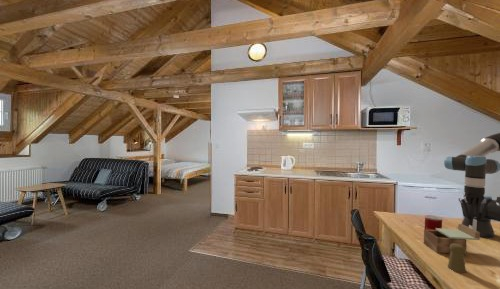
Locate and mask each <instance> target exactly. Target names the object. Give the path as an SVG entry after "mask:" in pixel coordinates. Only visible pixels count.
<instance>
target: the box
mask: <svg viewBox="0 0 500 289" xmlns="http://www.w3.org/2000/svg"><path fill="white" fill-rule="evenodd" d="M452 243H456V244H460V245H462V246H464V248H465V253H464V256H467V239H453V238H449V237H447V236H446V235H444V234H442V233H441V232H439V231H437V230H425V229H424V230H423V244H424V245H425V246H426V247H428V248H429V249H431V250H432V251H433V252H435V253H436V254H442V255H444V254H445V255H450V254H451V250H450V245H451V244H452Z"/></svg>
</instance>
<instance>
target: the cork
mask: <svg viewBox="0 0 500 289" xmlns="http://www.w3.org/2000/svg"><path fill="white" fill-rule="evenodd" d="M450 250H451V254H449V258H448V263H447V269H449V270H450V269H451V270H450V271H452V270H453V271H452V272H455V271H456V272H455V273H458V272H459V274H466V272H467V271H466V270H467V269H466V264H465V262H466V261H465V255H464V253H465V248H464V246H462V245H460V244H456V243H452V244H451V245H450Z"/></svg>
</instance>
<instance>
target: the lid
mask: <svg viewBox="0 0 500 289" xmlns="http://www.w3.org/2000/svg"><path fill="white" fill-rule="evenodd" d="M436 230H437V231H439V232H441V233H442V234H444V235H446V236H447V237H449V238H453V239H466V240H472V241H473V240H474V241H480V240H481V237H480V232H478V231H476V230H474V229H471V228H469V227H467V226H465V225H463V224H462V223H458V224H457V228H456V229H455V228H453V229H452V228H442V229H441V228H436Z"/></svg>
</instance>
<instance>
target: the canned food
mask: <svg viewBox="0 0 500 289" xmlns="http://www.w3.org/2000/svg"><path fill="white" fill-rule="evenodd" d="M436 228H441V229H443V218H442V217H440V216H437V215H430V214H427V215H426V214H425V216H424V230H436Z"/></svg>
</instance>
